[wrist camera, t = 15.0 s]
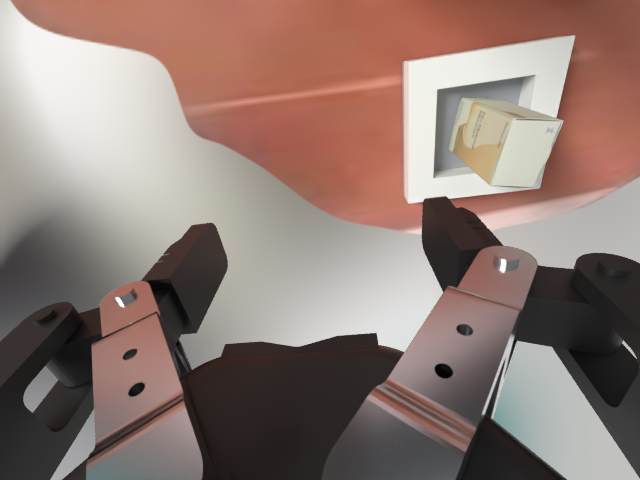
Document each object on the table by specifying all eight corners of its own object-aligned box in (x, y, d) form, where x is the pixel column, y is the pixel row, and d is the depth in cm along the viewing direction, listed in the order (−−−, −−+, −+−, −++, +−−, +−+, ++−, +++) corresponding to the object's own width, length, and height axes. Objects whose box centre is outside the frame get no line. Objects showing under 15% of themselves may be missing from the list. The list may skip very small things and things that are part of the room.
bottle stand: (402, 61, 35) (408, 61, 32) (553, 36, 33) (575, 35, 30) (403, 193, 43) (408, 203, 40) (524, 178, 41) (539, 188, 38)
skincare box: (460, 96, 36) (513, 113, 25) (498, 97, 36) (567, 115, 25) (446, 152, 39) (488, 188, 28) (481, 153, 39) (536, 190, 28)
